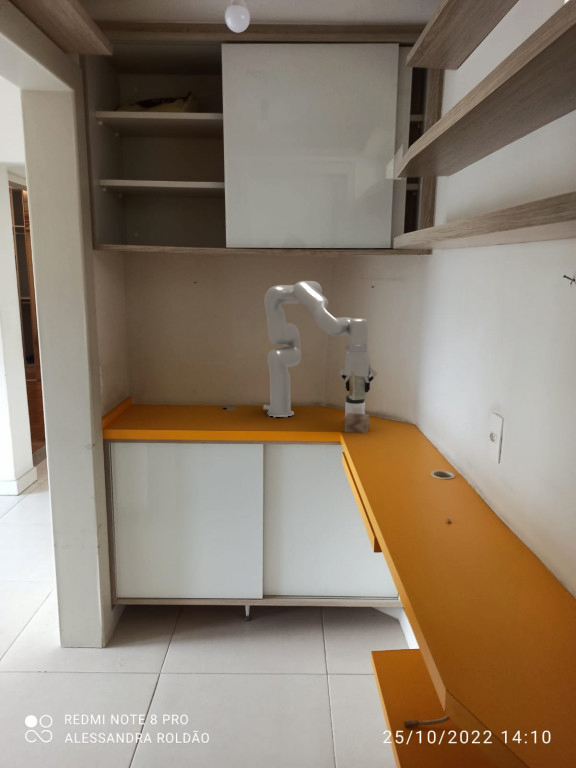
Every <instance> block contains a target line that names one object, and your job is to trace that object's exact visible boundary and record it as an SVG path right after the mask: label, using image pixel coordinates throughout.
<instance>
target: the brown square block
mask: <svg viewBox="0 0 576 768" xmlns="http://www.w3.org/2000/svg"><path fill="white" fill-rule="evenodd" d="M369 429H370V414H368V413H367V414H366V413H365V414H352V413H348V414H347V416H346V417H345V416H344V432H345V433H357V434H367V433H366V432H368V431H367V430H369Z"/></svg>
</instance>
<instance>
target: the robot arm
mask: <svg viewBox="0 0 576 768" xmlns="http://www.w3.org/2000/svg"><path fill="white" fill-rule="evenodd" d="M263 301H264V308H265V313H266V321H267V322H266V324H267V333H268V339H269V340H268V341H269V342H270V343H271V344H272V345H276V346H277V345H278V346H280V345H283V347H282V346H281V347H276V348H273V349H271V350H270V351H269V352H268V354H267V365H268V372H269V397H270V399H269V403H270V404H263V405H262V408H263V410H266V411H267V412H266V415H267V414H268V415H269V416H268V415H267V416H268V417H270V416H273V417H272V418H276V417H284V418H289V417H288V416H291V417H293V416H294V414H295V412H294V411H293V410H291V409H292V407H291V405H292V403H291V401H292V399H291V395H292V393H291V375H290V372H289V370H288V368H290V367H295V366H297V365H298V364H300V363H301V360H302V346H301V335H300V331H299V329H298V327H297V325H295V324H294V323H292V322H291V323H290V322H289V323H288V322H287V321H286V320H287V319H286V312H285V309H284V308H283V307H282V305H294V304H301V305H303V306H304V307H306V308H307V310H309V312H311V313H312V314H313V318H314V321H315V323H316V324H317V326H318V327H319V328H320V329H321V330H323V332H325V333H326V334H327V335H329V336H331V337H343V336H348V344H347V345H345V349H346V350H348V351H347V352H346V355H345V362H344V367H342V368H341V369H340V370H339V371H338V373H339V374H340V376H341V379H343V380H344V382H345V390H346V392H349V377H350V376H351V371H356V376H357V377H364V378H365V380H366V383H365V393H366V394H367V393H368V392H369V391H370V389H371V385H370V384H371V382H372V381H373V380H374V379H375V378H376V377H377V375H378V372H377V371H375V370H374V368H372V366H371V357H370V352H369V351H368V340H369V338H368V335H369V333H368V330H369V324H368V320H367V318H362V317H361V318H360V317H359V318H353V317H346V316H345V317H334V316H333V315H332V314H331V313H330V312H328V310H327V307H328V305H329V300H328V299H327V297H325V295H323V289H322V286H321V285H320V283H319V282H318V281H316V280H315V281H313V280H300V281H298V282H296V283H295V284H287V285H286V284H279V285H274V286H271V287H270V288H269V289H267V291H266V293H265V295H264V299H263ZM371 374H372V375H371ZM370 375H371V376H370ZM292 415H293V416H292Z"/></svg>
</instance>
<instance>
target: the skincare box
mask: <svg viewBox="0 0 576 768" xmlns="http://www.w3.org/2000/svg"><path fill="white" fill-rule="evenodd" d="M365 383H366V380H365V378H364V377H357V376H356V371H351V376H350V377H349V391H348V395H349V398H350V399H352V400H359V399H365V400H367V393H365Z"/></svg>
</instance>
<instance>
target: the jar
mask: <svg viewBox="0 0 576 768" xmlns="http://www.w3.org/2000/svg"><path fill="white" fill-rule="evenodd" d="M344 404H345V405H344V406H345V407H344V409H345V410H344V411H345V412H344V418H345V417H346V416H347V414H348V413H352V414H366V399H359V400H352V399H350V398H349V394H347V395H346V396H345V403H344Z"/></svg>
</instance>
